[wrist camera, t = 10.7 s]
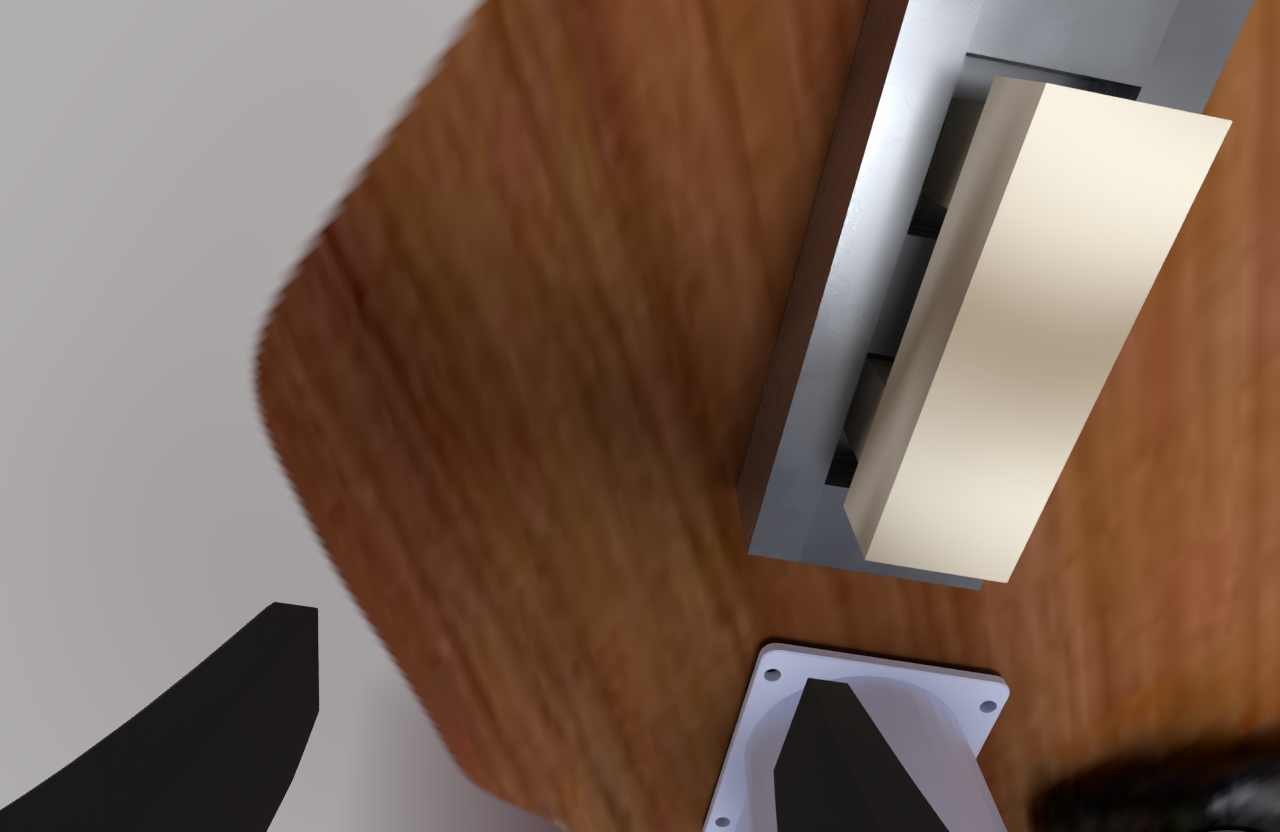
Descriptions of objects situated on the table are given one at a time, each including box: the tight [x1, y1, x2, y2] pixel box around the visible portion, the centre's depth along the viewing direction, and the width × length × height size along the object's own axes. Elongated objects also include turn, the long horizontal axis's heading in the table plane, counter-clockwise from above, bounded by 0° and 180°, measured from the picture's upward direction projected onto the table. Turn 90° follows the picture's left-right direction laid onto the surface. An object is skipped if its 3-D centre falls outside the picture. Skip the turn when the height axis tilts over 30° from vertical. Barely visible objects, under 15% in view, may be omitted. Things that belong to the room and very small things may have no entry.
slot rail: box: [736, 0, 1254, 591], centre depth 18 cm, size 14×6×3 cm, turn 170°
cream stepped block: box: [843, 76, 1232, 583], centre depth 16 cm, size 9×3×5 cm, turn 170°
